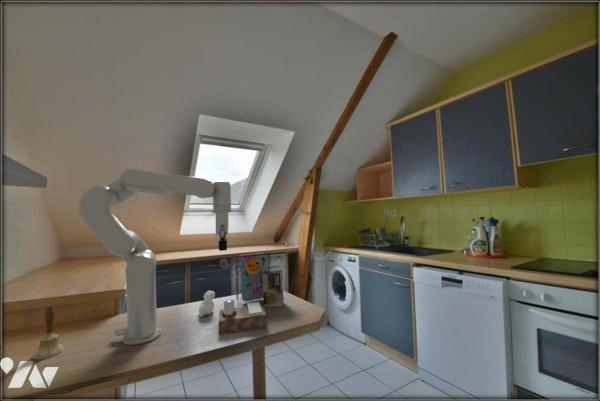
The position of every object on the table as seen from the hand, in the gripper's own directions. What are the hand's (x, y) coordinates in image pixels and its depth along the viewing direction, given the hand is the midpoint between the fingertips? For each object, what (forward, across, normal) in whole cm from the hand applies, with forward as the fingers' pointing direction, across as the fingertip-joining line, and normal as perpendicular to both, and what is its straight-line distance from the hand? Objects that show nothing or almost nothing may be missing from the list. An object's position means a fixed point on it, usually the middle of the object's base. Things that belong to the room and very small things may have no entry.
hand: (223, 248), depth 115 cm
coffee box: (+31, -10, +23) cm, 39 cm away
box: (+31, -17, +10) cm, 36 cm away
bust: (+31, -10, -8) cm, 33 cm away
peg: (+30, +8, +2) cm, 31 cm away
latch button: (+30, +8, +12) cm, 33 cm away
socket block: (+30, +8, +7) cm, 32 cm away
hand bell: (+31, +8, -58) cm, 66 cm away
